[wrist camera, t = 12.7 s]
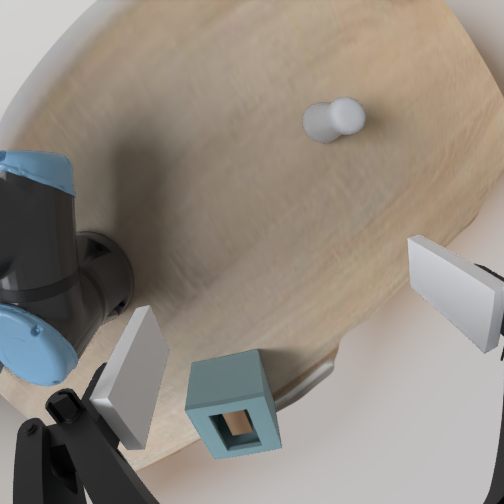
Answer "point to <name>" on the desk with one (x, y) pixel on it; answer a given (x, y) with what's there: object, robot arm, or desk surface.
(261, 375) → the coin box
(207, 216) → the desk surface
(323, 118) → the salt shaker
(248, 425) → the block
